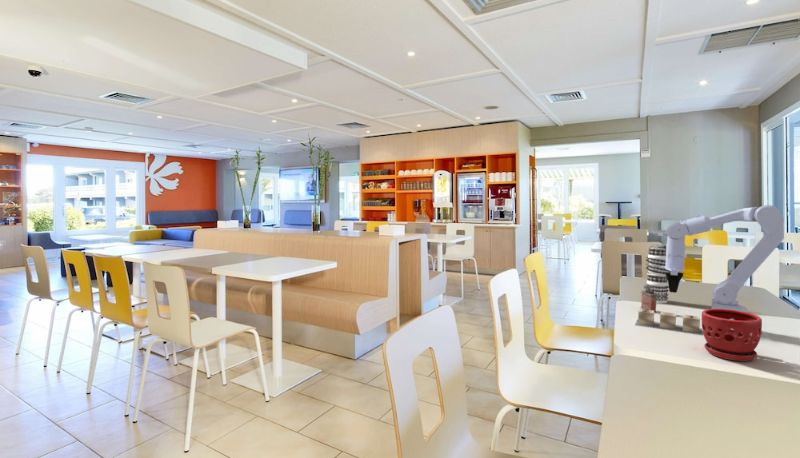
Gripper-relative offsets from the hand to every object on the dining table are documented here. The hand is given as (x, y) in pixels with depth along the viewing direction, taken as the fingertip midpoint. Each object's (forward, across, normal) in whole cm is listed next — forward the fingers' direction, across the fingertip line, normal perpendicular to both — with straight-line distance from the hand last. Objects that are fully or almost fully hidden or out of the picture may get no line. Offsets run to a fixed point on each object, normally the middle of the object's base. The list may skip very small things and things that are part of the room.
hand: (672, 292), depth 151 cm
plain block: (+10, +13, -1) cm, 17 cm away
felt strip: (+10, +13, -1) cm, 17 cm away
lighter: (+11, -10, -8) cm, 17 cm away
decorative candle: (+11, -34, -6) cm, 36 cm away
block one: (+10, +13, +6) cm, 17 cm away
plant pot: (+10, +35, +14) cm, 39 cm away
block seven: (+10, +13, -8) cm, 18 cm away
